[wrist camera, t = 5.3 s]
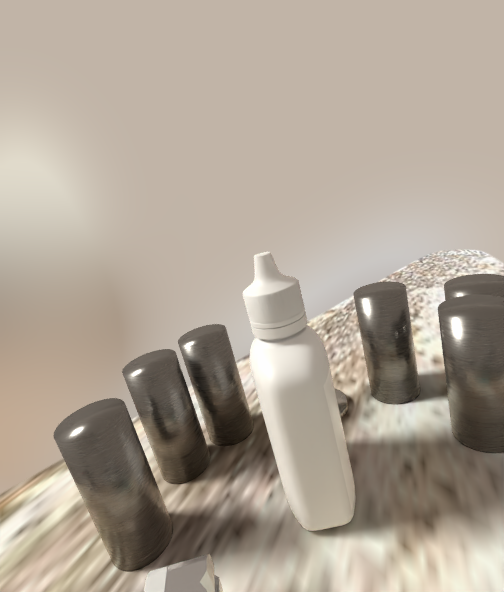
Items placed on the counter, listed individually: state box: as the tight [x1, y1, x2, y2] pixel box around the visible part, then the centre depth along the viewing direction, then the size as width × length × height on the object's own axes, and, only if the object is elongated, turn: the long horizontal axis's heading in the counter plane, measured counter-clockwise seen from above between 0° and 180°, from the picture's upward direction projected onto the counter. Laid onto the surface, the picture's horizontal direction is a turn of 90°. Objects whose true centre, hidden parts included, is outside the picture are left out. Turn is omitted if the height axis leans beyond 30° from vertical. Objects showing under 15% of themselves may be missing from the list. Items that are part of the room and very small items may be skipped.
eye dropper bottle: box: [243, 252, 356, 531], centre depth 17 cm, size 4×6×12 cm
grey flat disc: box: [334, 388, 348, 418], centre depth 24 cm, size 4×4×1 cm
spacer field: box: [54, 274, 504, 571], centre depth 21 cm, size 23×10×7 cm, turn 98°
